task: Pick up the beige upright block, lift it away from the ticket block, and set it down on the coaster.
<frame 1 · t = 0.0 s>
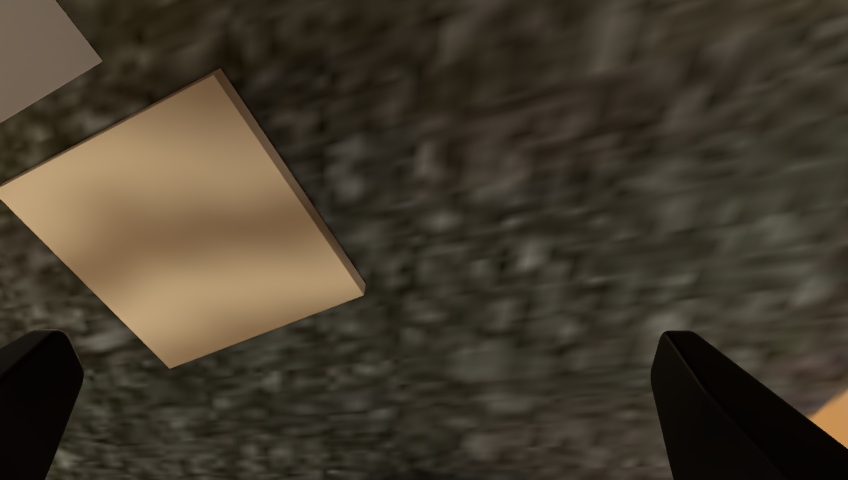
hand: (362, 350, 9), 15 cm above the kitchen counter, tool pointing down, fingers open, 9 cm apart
coaster: (194, 235, 25), on the kitchen counter
beige upright block: (10, 21, 21), on the kitchen counter
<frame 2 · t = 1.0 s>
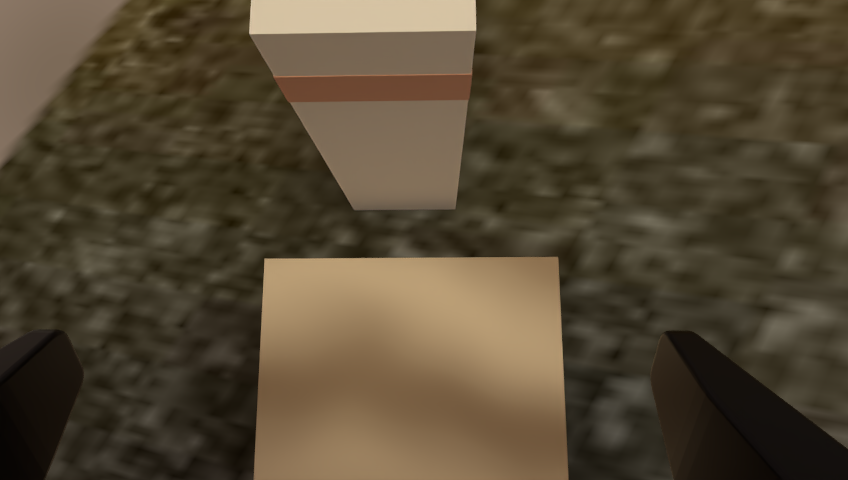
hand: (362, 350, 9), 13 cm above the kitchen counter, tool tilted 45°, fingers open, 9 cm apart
coaster: (411, 408, 21), on the kitchen counter
beige upright block: (404, 149, 23), on the kitchen counter
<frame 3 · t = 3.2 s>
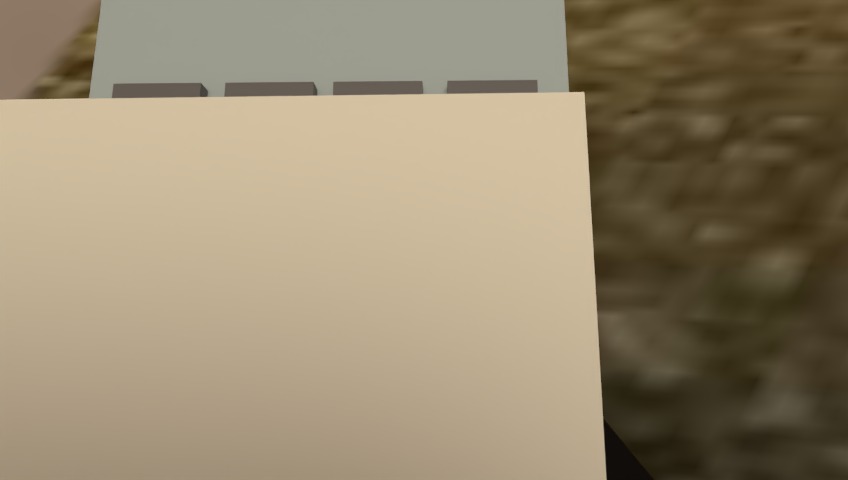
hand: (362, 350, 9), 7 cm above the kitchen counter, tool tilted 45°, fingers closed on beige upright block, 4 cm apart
beige upright block: (393, 410, 15), on the kitchen counter, touching gripper
ticket block: (396, 181, 16), on the kitchen counter
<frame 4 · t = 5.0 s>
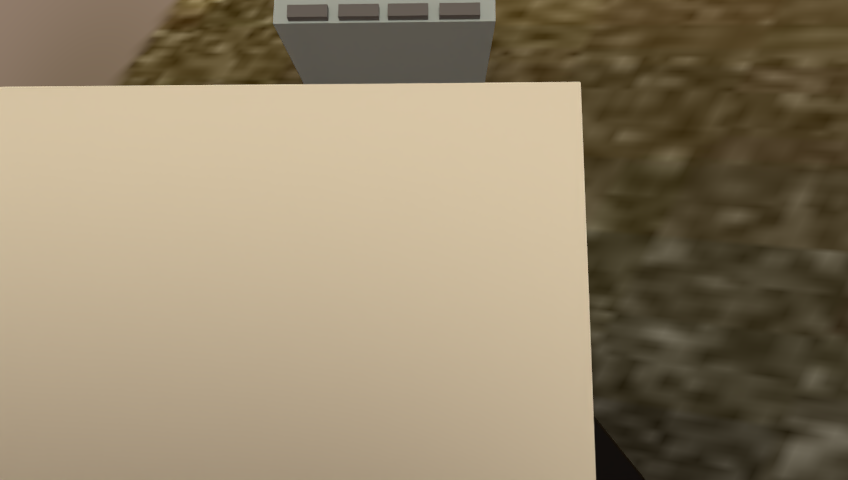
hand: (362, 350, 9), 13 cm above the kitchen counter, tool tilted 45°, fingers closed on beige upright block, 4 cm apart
beige upright block: (401, 408, 15), point 6 cm above the kitchen counter, touching gripper
ticket block: (407, 102, 23), on the kitchen counter
when the fingers open (8 cm above the kitchen counter, at t = 6.6 s): beige upright block stays where it is, resting on coaster.
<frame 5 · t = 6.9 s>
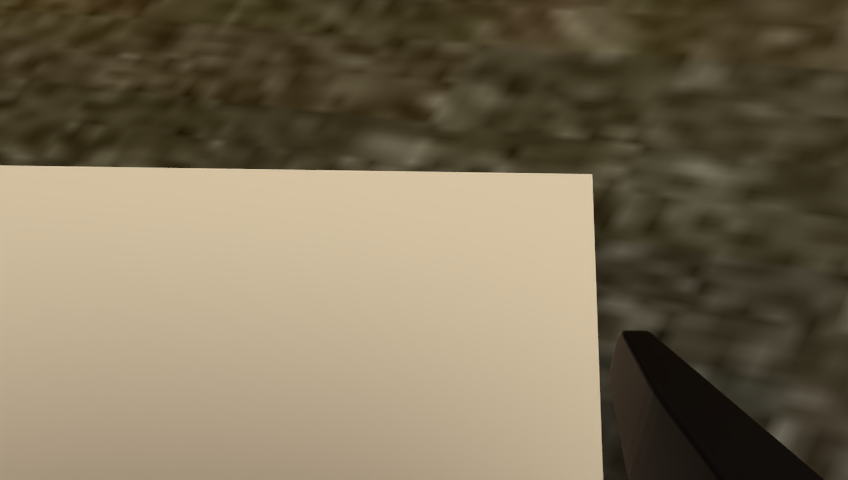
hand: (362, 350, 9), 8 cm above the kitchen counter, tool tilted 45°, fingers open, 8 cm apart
beige upright block: (399, 407, 16), point 1 cm above the kitchen counter, touching coaster
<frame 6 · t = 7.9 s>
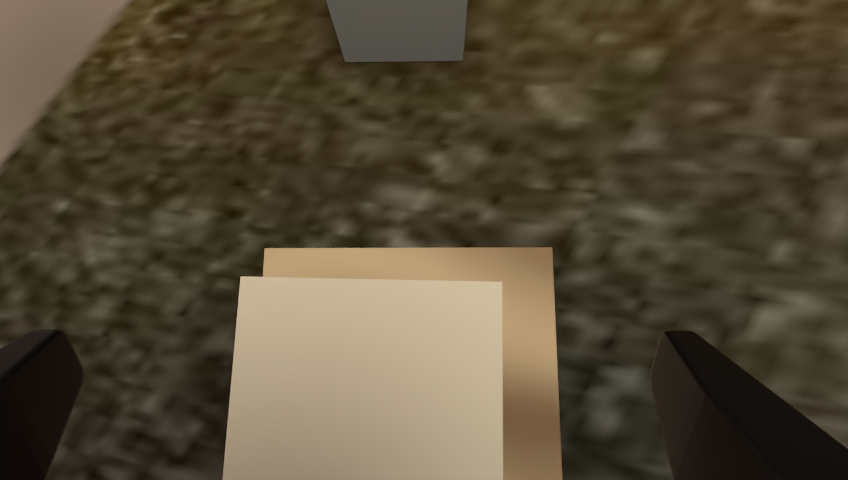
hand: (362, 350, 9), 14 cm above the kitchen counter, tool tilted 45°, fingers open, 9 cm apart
coaster: (407, 395, 22), on the kitchen counter
beige upright block: (408, 397, 21), point 1 cm above the kitchen counter, touching coaster
ticket block: (404, 8, 25), on the kitchen counter
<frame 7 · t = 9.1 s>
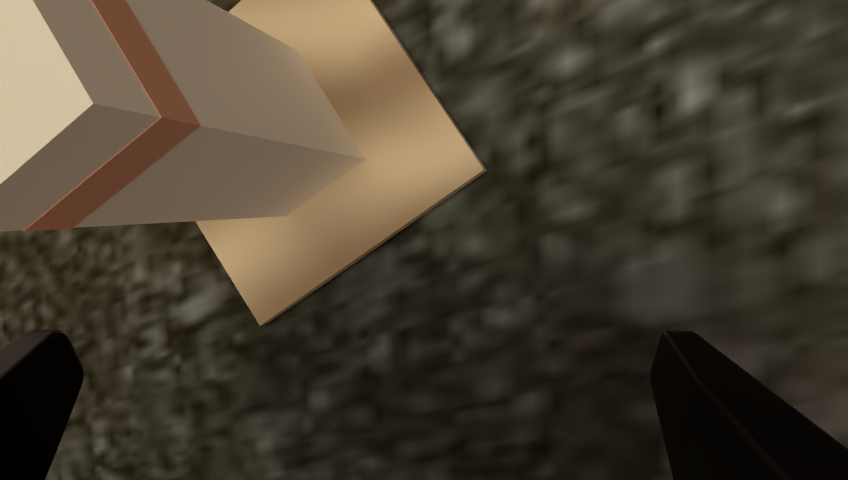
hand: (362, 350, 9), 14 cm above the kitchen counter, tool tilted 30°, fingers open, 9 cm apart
coaster: (299, 137, 23), on the kitchen counter
beige upright block: (292, 134, 23), point 1 cm above the kitchen counter, touching coaster
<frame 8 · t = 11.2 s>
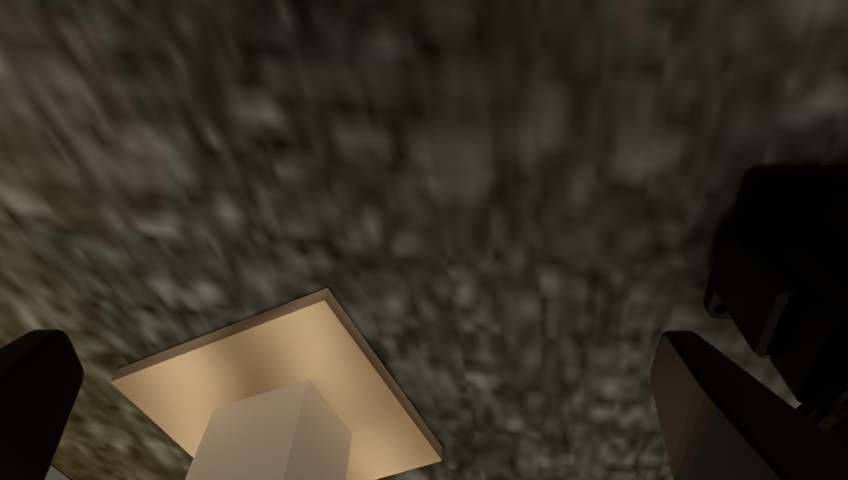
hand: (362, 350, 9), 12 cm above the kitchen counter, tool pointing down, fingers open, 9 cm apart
coaster: (287, 409, 28), on the kitchen counter
beige upright block: (283, 421, 27), point 1 cm above the kitchen counter, touching coaster
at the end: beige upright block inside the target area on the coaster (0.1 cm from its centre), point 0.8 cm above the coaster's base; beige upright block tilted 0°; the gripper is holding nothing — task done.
